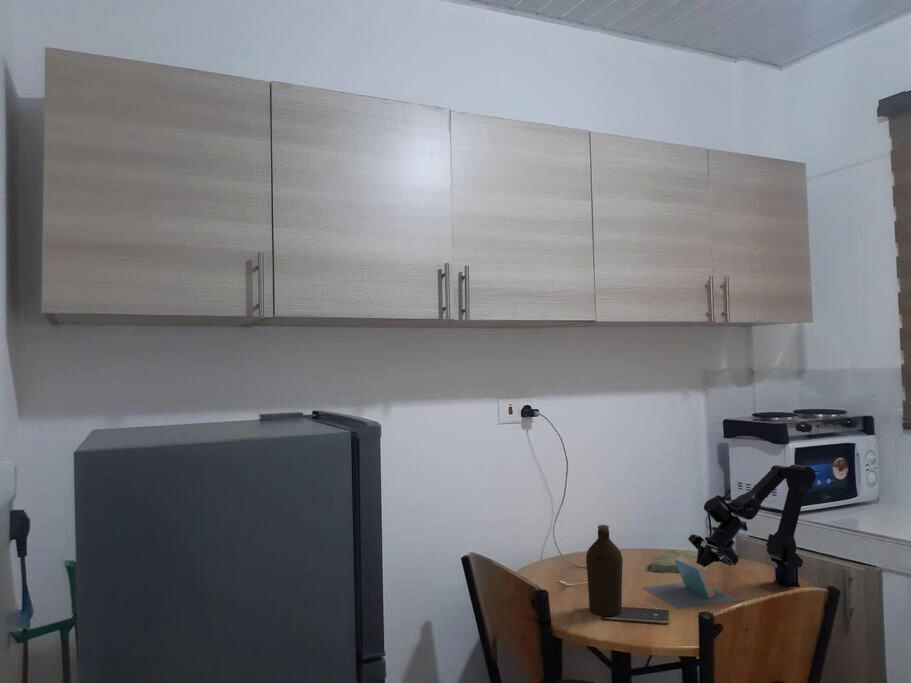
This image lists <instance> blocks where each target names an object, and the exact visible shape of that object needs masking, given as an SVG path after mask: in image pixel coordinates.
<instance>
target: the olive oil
mask: <svg viewBox="0 0 911 683" xmlns="http://www.w3.org/2000/svg"><path fill="white" fill-rule="evenodd" d="M609 529H610V527H609V525H606V524H599V525H598V526H597V539H596V540H595V541H594V542H593V543H592V544H591V545H590V546H589V548H588V549H587V552H586V556H585V562H586V563H585V564H586V574H587V575H586V576H587V590H588V607H589V608H588V609H589V612H591V614H594V615H597V616H601V617H614V616H615V615H616V616H618V614H619V615H620V614H621V613H622V612H621V611H622V610H623V609H622V608H623V607H622V606H623V602H622V601H623V594H622V593H623V561H624V560H623V556H622V553H621V551H620V549H619V547H618V546H617V545H616V544H615V543H614V542H613V541H612V540H611V539H610V530H609ZM616 616H615V617H616Z"/></svg>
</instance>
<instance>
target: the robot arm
mask: <svg viewBox="0 0 911 683" xmlns="http://www.w3.org/2000/svg"><path fill="white" fill-rule="evenodd" d="M816 475H817V474H816V472H815V470H814V469H813V468H812V467H811V466H806V465H800V464H796V463H795V464H794V463H793V464H791V465H790V466H785V465H778V464H776V465H772V466H771V467H770V470H769V471H768V472H767V473H766V474H765V475H764V476H763V477H762V478H761V479H760V480H759V481H758V482H757V483H756V484H755V485H754V486H753V487H752V488H751V489H750V490H749V491H747V492H746V493H743V494H740V495H739V496H737V497H736V498H735V499H733V500H731V502H727V501H726V500H725V499H724V498H723V496H722V495H716V496H715V497H712V498H710V499H708V500H707V501H706V502H705V503H704V505H703V510H704V511H705V512H706V513H707V514H708V515H709V516H710V517H711V518H712V520H713V521H715V522H716V523H719V524H718V526H717V527H715V526H712V529H711V530H712V531H713V532H712V533H711V535H710V536H709V537H708V536H705V537H704V538H703V537H702V536H700V535H697V534H695V533H694V534H690V535H689V537H688V539H687V540H688V542H690V544H692V545H693V546H694V548H696V550H697V553H698V555H697V561H696V563H698V564H700V565H702V566H703V567H706V566H708V565H709V564H711V565H712V563H716V562H719V563H722V564H724V565H727V566H729V567H732V566H734V567H735V566H736V565H737V564H738V562H739V556H738V554H736V551H735V549H733V547H734V545H735V541H734V538H735V537H736V535H737V534H738V533H739V532H740V530H742V531H745V532H748V526H747V521H743V520H741V519H744V520H750V521H751V520H753V519H754V518H756V516H757V515H758V513H759V512H760V510H761V505H762V503H763V502H764V501H765V500H766V499H767V497H768V496H770V494H771V493H772V492H773V491H774V490H775V489H776V488H778V487H779V486H780V485H781V483H782V482H783V481H784V480H785V481H786V485H787V489H788V490H787V495H786V497H785V498H786V499H785V501H784V506H783V507H782V509H783V510H782V513H781V516H780V520H779V524H778V528H777V530H776V531H775V533H774V534H771V533H769V535H768V538H767V543H766V544H765V546H766V552H767V554H768V556H769V558H770V560H771V562H773V563H774V564H775V566H774V567H773V580H774V581H775V582H776V584H777V583H778V584H779V585H778V584H777V585H778V586H784V585H794V586H793V587H801V584H800V582H799V568H802V567H803V564H804V560H803V559H802V558H801V557H800V556H799V554H797V553H796V552H797V543H796V540H795V532H796V530H797V525H798V522H799V517H800V513H801V511H802V510H801V509H802V506H803V502H804V499H805V498H804V497H805V494H806V493H807V492H808V491H810V490H811V489H812V487H813V485H814V483H815V480H816V477H817V476H816ZM740 518H741V519H740Z"/></svg>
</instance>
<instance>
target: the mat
mask: <svg viewBox="0 0 911 683" xmlns="http://www.w3.org/2000/svg"><path fill="white" fill-rule="evenodd" d="M641 589H643V590H644V591H646V592H647V593H650V594H652V595H654V596H655V597H657V598H659V599H660V600H662V601H664V602H666V603H667V604H669V605H670V606H671V607H674V608H676V609H685V608H691V607H699V606H700V607H701V606H707V605H716V604H721V603H723V604H724V603H731V602H738V601H740V599H739V598H737V597H735V596H734V595H731V594H729V593H727V592H725V591H722V590H721V589H718V588H717V587H715V586H712V589H713V591H714V594H715V595H714V596H713V597H711V598H709V599H708V598H706V597H704V596H702V595H701V594H699V593H697V592H695V591H693V590H691V589H689V588H687V587H685V584H684V582H678V583H677V582H676V583H669V584H660V585H652V586H651V585H650V586H643V587H641Z"/></svg>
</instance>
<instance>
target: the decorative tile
mask: <svg viewBox="0 0 911 683" xmlns="http://www.w3.org/2000/svg"><path fill="white" fill-rule="evenodd" d="M697 555H698V552H692V551H685V550H682V551H680V550H675V549H672V550H671V549H670V550H667V549H666V550H664V552H663V553H661V554H659V555H655V556H653V557H652V560H651V567H650V568H651V569H650V571H652V572H657V571H659V572H658V573H665V572H666V574H667V573H674V572H675V573H679V574H680V572H679V570H678V567H677V565H676V562H675V560H674V559H675V558H677V557H679V556H682V557H684V558H686V559H689V560H691V561H693V562H695V563H696V561H697ZM711 565H712V563H711V564H709V565H708V566H706V567H704V569H705V572H706V573H707V570H708V569H709V568H710V566H711Z"/></svg>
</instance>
